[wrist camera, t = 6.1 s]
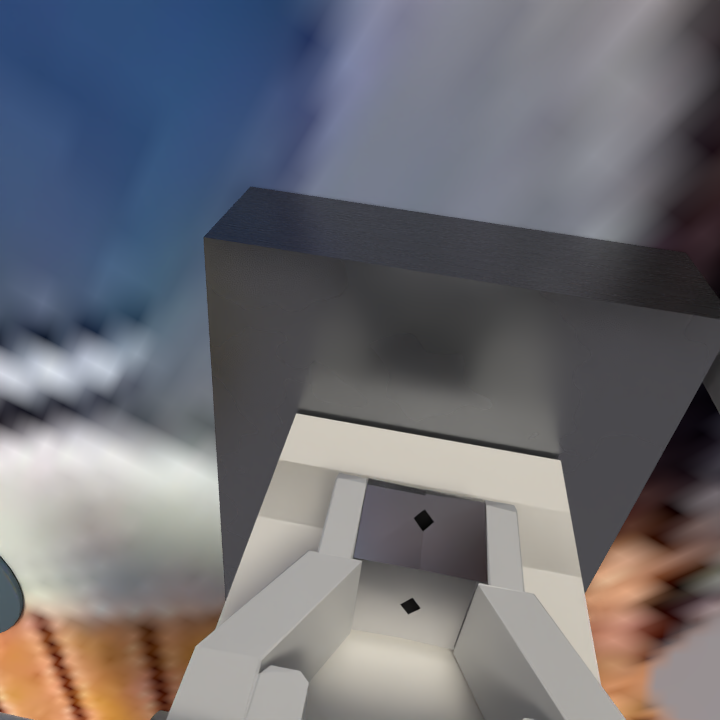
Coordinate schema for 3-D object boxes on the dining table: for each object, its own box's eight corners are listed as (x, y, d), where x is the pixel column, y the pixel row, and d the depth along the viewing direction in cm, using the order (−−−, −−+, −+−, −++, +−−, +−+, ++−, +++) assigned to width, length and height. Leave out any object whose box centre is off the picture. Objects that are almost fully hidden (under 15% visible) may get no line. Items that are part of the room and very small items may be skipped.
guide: (250, 186, 14) (203, 237, 11) (685, 253, 13) (735, 321, 11) (255, 651, 26) (233, 724, 24) (480, 698, 25) (482, 778, 23)
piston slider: (274, 409, 13) (102, 816, 7) (583, 464, 13) (692, 952, 7) (271, 606, 18) (164, 959, 12) (498, 652, 18) (514, 1045, 11)
